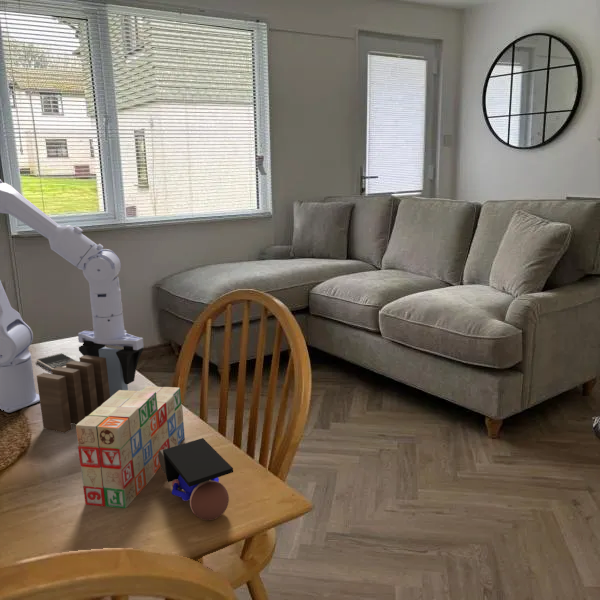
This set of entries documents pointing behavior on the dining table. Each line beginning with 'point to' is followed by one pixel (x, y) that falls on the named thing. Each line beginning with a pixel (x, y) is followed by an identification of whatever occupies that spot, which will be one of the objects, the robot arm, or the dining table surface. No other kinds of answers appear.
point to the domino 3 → (86, 384)
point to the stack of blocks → (127, 443)
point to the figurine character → (197, 477)
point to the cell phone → (54, 361)
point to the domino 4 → (99, 377)
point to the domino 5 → (113, 370)
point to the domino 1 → (54, 402)
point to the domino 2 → (73, 392)
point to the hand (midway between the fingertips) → (114, 379)
